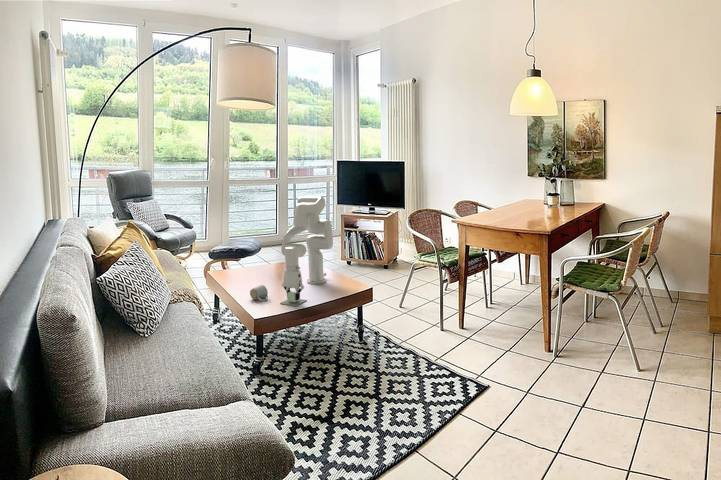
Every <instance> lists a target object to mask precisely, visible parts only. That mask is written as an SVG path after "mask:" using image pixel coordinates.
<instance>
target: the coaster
mask: <svg viewBox="0 0 721 480" xmlns="http://www.w3.org/2000/svg"><path fill="white" fill-rule="evenodd" d="M306 302H308V301H307V299H301V298H300V300H298V301H296V302H289V301H287V299H285V300H284V301H282V302H280V303H279V304H280V305H285V306H289V307H290V306H291V307H298V306H300V305H302V304H304V303H306Z"/></svg>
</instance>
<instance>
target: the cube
mask: <svg viewBox="0 0 721 480" xmlns="http://www.w3.org/2000/svg"><path fill="white" fill-rule="evenodd" d="M300 299H301V298H300ZM300 299H298V300H300ZM286 300H287V301H289V302H296V301H298V300H296V290H290V292H288V293H287V292H286Z"/></svg>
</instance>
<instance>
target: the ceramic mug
mask: <svg viewBox="0 0 721 480" xmlns="http://www.w3.org/2000/svg"><path fill="white" fill-rule="evenodd" d="M268 294H269V293H268V289H267V287H266V286H265V285H264V284H261V285H258V286H255V287H253V288H251V289H250V290H249V295H250V298H251V299H252V301H260V302H266V301H267V300H269V296H268Z"/></svg>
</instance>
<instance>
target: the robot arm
mask: <svg viewBox="0 0 721 480" xmlns="http://www.w3.org/2000/svg"><path fill="white" fill-rule="evenodd" d="M325 207H326V199H325V198H324V196H321V195H320V196H319V195H317V196H316V195H313V196H312V195H302V196H299V197H298V198H297V204H296V205H295V208H294V209H295V211H294V216H293V222H292V226H291V227H290V228H289V229H288V230H287V231H286V232H285V234H284V235H283V238H282V242H281V243H282V244H281V246H280V247H281V248H280V251H281V254H282V256H284V266H285V267H284V268H285V270H284V274H283V282H282V284H281V286H282V287H283V289H284V290H285V292H286V294H287V293H288V292H290V291H291V289H294V291H296V300H298V299H301V292H302V291H303V290H304V289H305V286H304V284H303V278H302V272H301V267H300V265H299V258H303V257H304V256H305V255H306V254H308V255H307V257H308V278H307V279H306V283H307V284H310V285H320V284H324V283H326V282H327V279H326V278H325V277H326V276H327V273H326V272H324V256H323V253H322V252H321V250H327V251H329V250H331V249H332V248H333V247H334V238H333V225H332V222H331V221H330V220H329V219H327V218H326V219H325V218H324V219H323V218H320V215H321V213H322V212H323V211H324V209H325ZM306 230H307V232H308V233H309V234H310V235H307V237H306V239H305V241H306V242H305V244H306V245H304V244H303V243H290V241H291V239H292V238H294V236H297V235H298V234H301V233H304V232H305V231H306Z"/></svg>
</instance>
